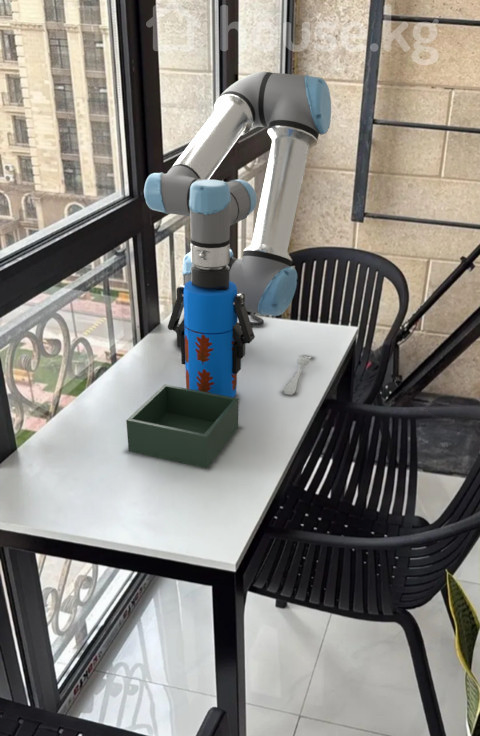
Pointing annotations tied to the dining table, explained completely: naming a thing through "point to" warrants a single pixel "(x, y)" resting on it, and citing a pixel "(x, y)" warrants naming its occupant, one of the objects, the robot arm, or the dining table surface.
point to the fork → (293, 383)
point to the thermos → (210, 339)
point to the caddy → (183, 425)
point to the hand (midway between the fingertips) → (211, 366)
